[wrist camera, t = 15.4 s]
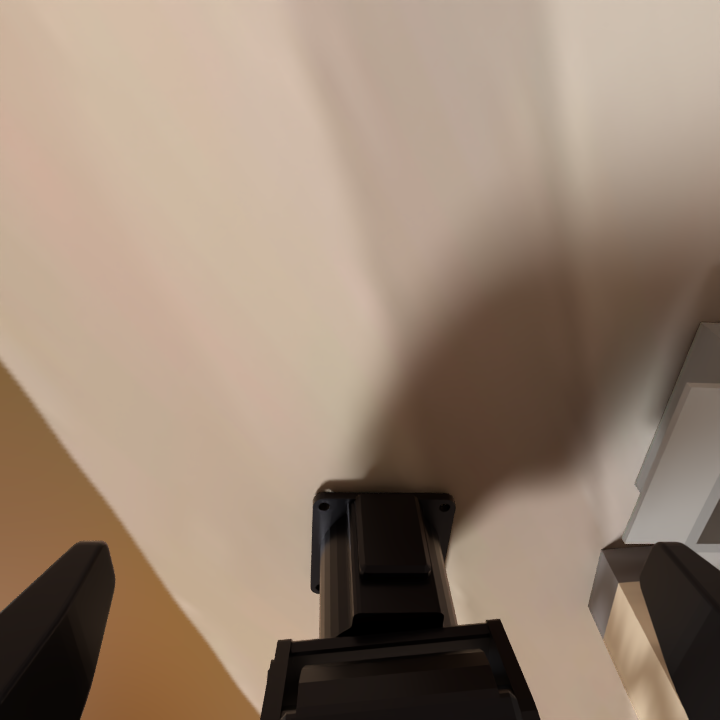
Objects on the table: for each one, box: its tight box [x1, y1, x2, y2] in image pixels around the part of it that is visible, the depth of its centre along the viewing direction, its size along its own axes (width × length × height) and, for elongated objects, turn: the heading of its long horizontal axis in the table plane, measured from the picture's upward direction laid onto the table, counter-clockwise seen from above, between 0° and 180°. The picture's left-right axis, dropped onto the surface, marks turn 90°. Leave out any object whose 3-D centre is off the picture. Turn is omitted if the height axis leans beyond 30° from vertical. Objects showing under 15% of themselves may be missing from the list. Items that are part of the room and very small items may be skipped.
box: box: [588, 546, 689, 720], centre depth 26 cm, size 4×4×9 cm
